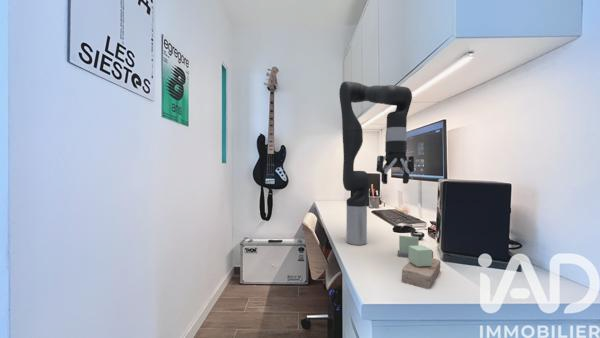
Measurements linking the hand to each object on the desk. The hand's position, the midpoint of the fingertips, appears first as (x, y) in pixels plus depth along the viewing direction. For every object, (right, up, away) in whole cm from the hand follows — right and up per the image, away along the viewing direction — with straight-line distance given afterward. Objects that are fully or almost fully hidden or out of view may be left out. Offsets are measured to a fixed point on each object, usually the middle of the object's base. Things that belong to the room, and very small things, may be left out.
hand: (395, 183), depth 100 cm
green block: (+3, -25, -14) cm, 29 cm away
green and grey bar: (+7, -29, +5) cm, 30 cm away
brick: (+3, -30, -15) cm, 33 cm away
